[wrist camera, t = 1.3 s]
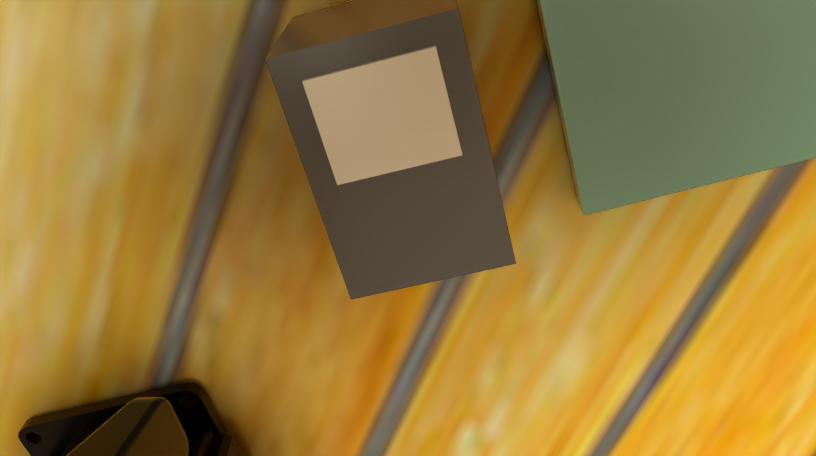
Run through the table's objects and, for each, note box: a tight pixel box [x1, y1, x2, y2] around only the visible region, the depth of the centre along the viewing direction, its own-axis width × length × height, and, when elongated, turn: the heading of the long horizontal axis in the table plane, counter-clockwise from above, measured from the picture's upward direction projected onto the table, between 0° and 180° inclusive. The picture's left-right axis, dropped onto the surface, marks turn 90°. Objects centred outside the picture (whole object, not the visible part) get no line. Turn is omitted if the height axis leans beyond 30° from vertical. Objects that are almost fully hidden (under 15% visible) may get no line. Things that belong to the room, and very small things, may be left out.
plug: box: [265, 0, 516, 299], centre depth 18 cm, size 6×4×4 cm, turn 15°
